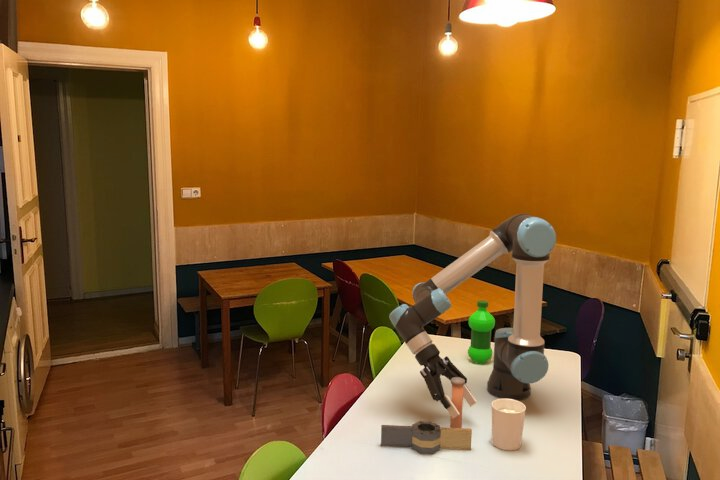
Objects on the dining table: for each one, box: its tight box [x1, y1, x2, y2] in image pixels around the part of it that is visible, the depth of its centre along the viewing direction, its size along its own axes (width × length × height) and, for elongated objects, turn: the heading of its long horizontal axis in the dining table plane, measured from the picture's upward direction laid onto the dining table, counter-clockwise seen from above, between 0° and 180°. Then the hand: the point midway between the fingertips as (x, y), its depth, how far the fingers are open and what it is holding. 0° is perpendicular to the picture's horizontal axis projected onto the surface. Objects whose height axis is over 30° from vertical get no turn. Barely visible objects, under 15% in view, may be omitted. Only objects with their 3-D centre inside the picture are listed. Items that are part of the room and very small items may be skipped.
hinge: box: [380, 420, 473, 455], centre depth 171 cm, size 26×8×6 cm, turn 87°
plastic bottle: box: [467, 300, 496, 365], centre depth 238 cm, size 10×10×25 cm
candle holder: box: [490, 398, 527, 451], centre depth 173 cm, size 10×10×12 cm
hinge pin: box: [449, 377, 465, 428], centre depth 182 cm, size 4×4×16 cm
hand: (465, 410), depth 180 cm, fingers open, 10 cm apart
